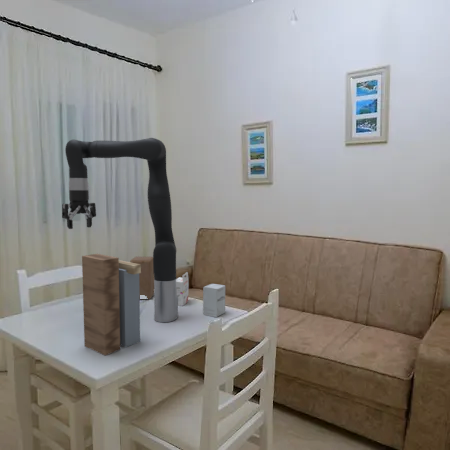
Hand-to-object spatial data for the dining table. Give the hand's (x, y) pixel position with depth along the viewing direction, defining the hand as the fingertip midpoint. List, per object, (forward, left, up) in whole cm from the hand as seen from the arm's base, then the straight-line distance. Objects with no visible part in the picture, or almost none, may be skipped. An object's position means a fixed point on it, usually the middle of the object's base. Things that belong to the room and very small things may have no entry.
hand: (79, 228), depth 160 cm
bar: (+5, +31, -12) cm, 34 cm away
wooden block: (-35, -2, -38) cm, 52 cm away
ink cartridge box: (-40, +20, -38) cm, 59 cm away
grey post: (+5, +34, -38) cm, 51 cm away
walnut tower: (+14, +34, -38) cm, 53 cm away
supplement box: (-38, +42, -38) cm, 68 cm away
